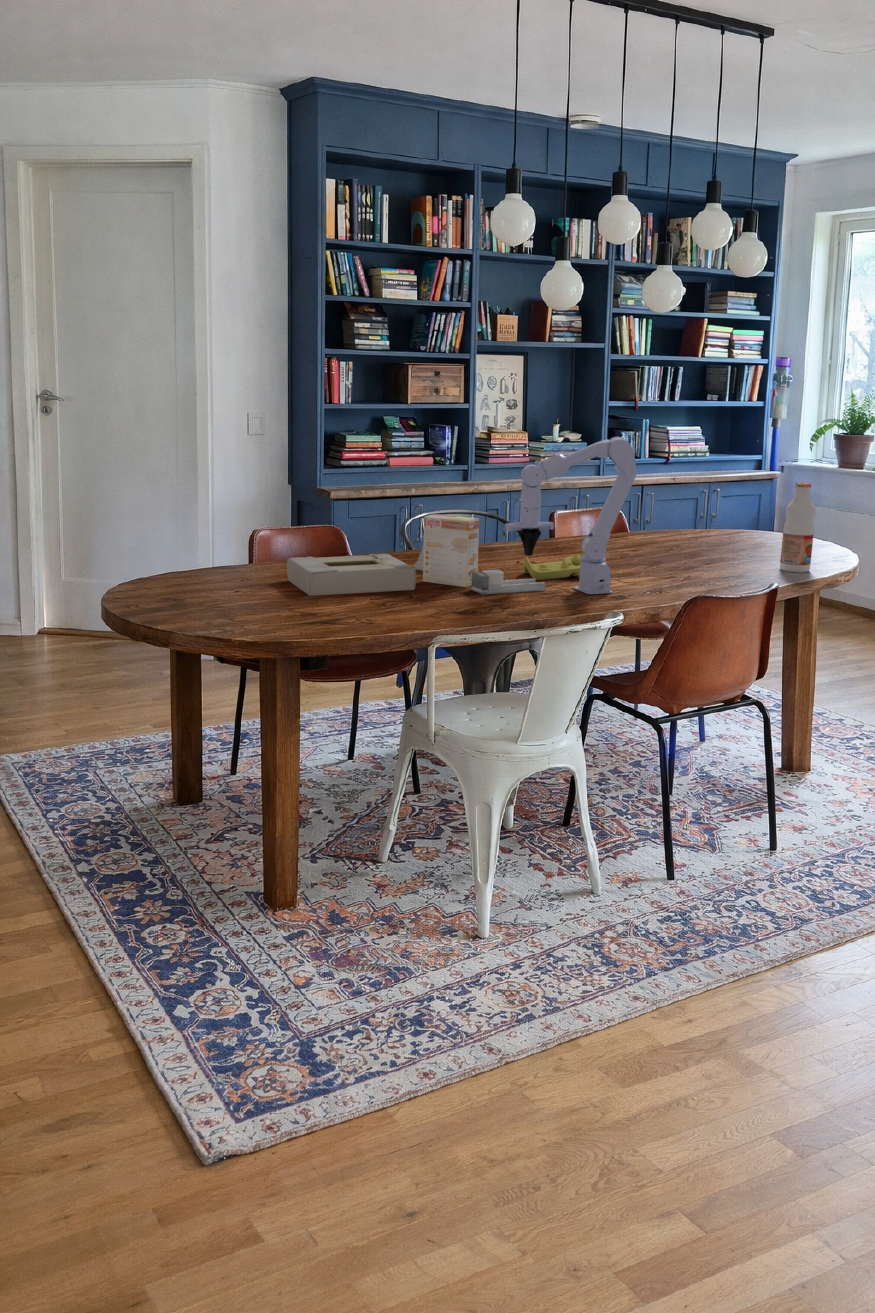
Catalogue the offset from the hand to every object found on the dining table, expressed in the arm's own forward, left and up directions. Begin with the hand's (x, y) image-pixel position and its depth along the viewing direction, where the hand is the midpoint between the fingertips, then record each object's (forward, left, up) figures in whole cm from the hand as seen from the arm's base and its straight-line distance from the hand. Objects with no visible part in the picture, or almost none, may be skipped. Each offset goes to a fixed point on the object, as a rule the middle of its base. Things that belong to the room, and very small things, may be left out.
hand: (528, 555), depth 338 cm
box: (+20, +47, -11) cm, 52 cm away
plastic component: (+15, -18, -10) cm, 26 cm away
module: (0, +11, -9) cm, 14 cm away
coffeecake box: (+14, +18, -10) cm, 25 cm away
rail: (0, +6, -10) cm, 12 cm away
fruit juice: (+2, -98, -10) cm, 99 cm away
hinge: (+33, +13, -10) cm, 37 cm away
